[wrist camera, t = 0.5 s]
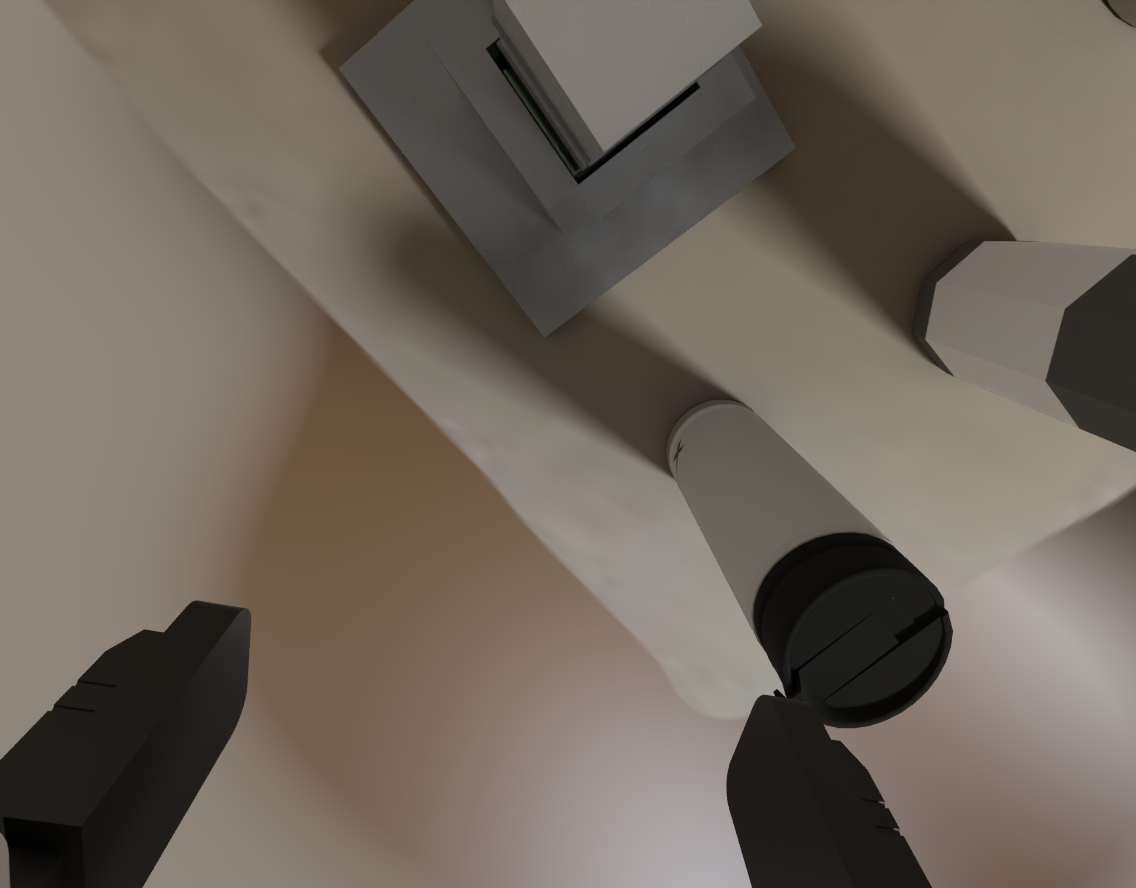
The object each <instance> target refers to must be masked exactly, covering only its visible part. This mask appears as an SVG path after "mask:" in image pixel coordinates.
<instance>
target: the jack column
mask: <svg viewBox="0 0 1136 888" xmlns="http://www.w3.org/2000/svg"><path fill="white" fill-rule="evenodd" d="M492 1H493V6H494V11H495V14H494V15H493V16H492V17H491V21H492V23H493V25H494V26H495V28H496V29H497V31H498V32H499V36H500V40H499V41H498V42H497V47H498V48H499V50H500V51H501V53H502V54H503V56H504V62H505V67H506V69H505V70H504V71H503V74H504V77H505V78H506V80H507V81H508V83H509V84H510V86H511V87H512V89H513V90H514V91H515V93H516V94H517V96H518V97H519V99H520V100H521V102H522V103H523V105H524V106H525V108H526V109H527V111H528V112H529V114H530V115H531V116H532V118H533V119H534V121H535V122H536V124H537V125H538V127H539V128H540V130H541V131H542V133H543V134H544V136H545V137H546V138H547V140H548V141H549V143H550V144H551V146H552V147H553V149H554V150H555V152H556V153H557V155H558V156H559V158H560V159H561V160H562V162H563V163H564V165H565V166H566V168H567V169H568V171H569V172H570V174H571V175H572V177H573V176H575V175H576V174H577V173H578V172H580V171H583V170H584V169H585V168H587V167H590V166H591V165H592V164H594V163H595V162H596V161H597V160H599V159H600V158H601V157H602V156H604V155H605V154H606V153H607V152H609V151H610V150H611V149H612V148H614V147H615V146H616V145H617V144H619V143H620V142H621V141H622V140H624V139H625V138H626V137H627V136H629V135H630V134H631V133H632V132H634V131H635V130H636V129H637V128H639V127H640V126H641V125H642V124H644V123H645V122H646V121H647V120H649V119H650V118H651V117H652V116H654V115H655V114H656V113H657V112H659V111H660V110H661V109H663V108H664V107H665V106H666V105H668V104H669V103H670V102H671V101H673V100H674V99H675V98H676V97H678V96H679V95H680V94H681V93H683V92H684V91H685V90H686V89H688V88H689V87H690V86H691V85H693V84H694V83H695V82H696V81H698V80H699V79H700V78H701V77H703V76H704V75H705V74H706V73H708V72H709V71H710V70H711V69H713V68H714V67H715V66H716V65H718V64H719V63H720V62H721V61H723V60H722V57H724V56H725V55H726V54H727V53H729V52H730V51H731V50H732V49H734V48H735V47H736V46H737V45H739V44H740V43H741V42H742V41H744V40H745V39H746V38H748V37H749V36H750V35H751V34H753V33H754V32H755V31H756V30H758V29H759V28H760V27H761V26H762V24H761V22H760V20H759V19H758V17H757V15H756V13H755V11H754V9H753V7H752V5H751V4H750V2H749V0H492Z"/></svg>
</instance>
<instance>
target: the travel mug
mask: <svg viewBox="0 0 1136 888" xmlns="http://www.w3.org/2000/svg"><path fill="white" fill-rule="evenodd" d="M666 457H667V462H668V466H669V468H670V470H671V472H672V475H673V476H674V478H675V480H676V482H677V484H678V486H679V488H680V490H681V492H682V494H683V496H684V498H685V500H686V502H687V504H688V506H689V508H690V510H691V512H692V514H693V515H694V517H695V519H696V521H697V523H698V525H699V527H700V529H701V531H702V533H703V535H704V537H705V539H706V541H707V543H708V545H709V547H710V549H711V551H712V552H713V554H714V556H715V558H716V560H717V562H718V564H719V566H720V568H721V570H722V572H723V574H724V576H725V578H726V580H727V582H728V584H729V586H730V588H731V589H732V591H733V593H734V595H735V597H736V599H737V601H738V603H739V605H740V607H741V609H742V611H743V613H744V615H745V617H746V619H747V621H748V623H749V625H750V626H751V628H752V630H753V632H754V634H755V636H756V638H757V640H758V642H759V643H760V645H761V646H762V647H763V649H764V650H765V652H766V653H767V656H768V658H769V660H770V662H771V664H772V666H773V667H774V669H775V670H776V672H777V674H778V675H779V678H780V680H781V682H782V684H783V688H784V691H785V695H786V697H785V696H784V695H783V694H782V693H781V692H780V691H779V690H778V689H776V690H775V691H774V695H775V697H782V698H788V699H794V700H800V701H806V702H809V703H810V704H812V705H813V707H814V708H815V710H816V711H817V713H818V715H819V717H820V719H821V721H822V723H823V724H825V725H827V726H832V727H836V728H859V727H865V726H871V725H873V724H877V723H880V722H883V721H885V720H888V719H890V718H892V717H894V716H896V715H898V714H900V713H901V712H903V711H904V710H906V709H907V708H908V707H910V706H911V705H913V704H914V703H915V702H916V701H917V700H918V699H919V698H920V697H921V696H922V695H924V693H926V692H927V691H928V689H929V688H930V687H931V685H932V684H933V683H934V681H935V680H936V679H937V678H938V676H939V674H940V672H941V670H942V668H943V666H944V664H945V663H946V660H947V657H948V654H949V651H950V648H951V642H952V634H953V629H952V625H951V621H950V618H949V613H948V611H947V610H946V609H945V608H944V599H943V597H942V595H941V594H940V592H939V591H938V589H937V587H936V586H935V585H934V584H933V583H932V582H931V581H930V580H929V579H928V578H927V577H925V576H924V575H923V574H922V573H921V572H920V571H919V570H918V569H917V568H916V567H915V566H914V565H913V564H912V563H911V562H910V561H909V560H908V559H907V558H906V556H905V554H904V553H903V552H902V551H901V550H900V549H898V548H897V547H896V546H895V545H894V544H893V543H892V542H891V541H890V540H889V539H888V538H887V537H886V536H885V535H884V534H883V533H882V532H881V531H880V530H879V529H877V528H876V527H875V526H874V525H873V524H872V523H871V522H870V521H869V520H868V519H867V518H866V517H865V516H864V515H863V514H862V513H861V512H860V511H858V510H857V509H856V508H855V507H854V506H853V505H852V504H851V503H850V502H849V501H848V500H847V499H846V498H845V497H844V496H843V495H842V494H841V493H839V492H838V491H837V490H836V489H835V488H834V487H833V486H832V485H831V484H830V483H829V482H828V481H827V480H826V479H825V478H824V477H823V476H822V475H820V474H819V473H818V472H817V471H816V470H815V469H814V468H813V467H812V466H811V465H810V464H809V463H808V462H807V461H806V460H805V459H804V458H803V457H801V456H800V455H799V454H798V453H797V452H796V451H795V450H794V449H793V448H792V447H791V446H790V445H789V444H788V443H787V442H786V441H785V440H784V439H783V438H781V437H780V436H779V435H778V434H777V433H776V432H775V431H774V430H773V429H772V428H771V427H770V426H769V425H768V424H767V423H766V422H765V421H764V420H762V419H761V418H760V417H759V416H758V415H757V414H756V413H755V412H754V411H753V410H752V409H751V408H749V407H747V406H746V405H744V404H742V403H739V402H736V401H733V400H725V399H721V400H711V401H707V402H704V403H701V404H699V405H697V406H695V407H693V408H692V409H690V410H689V411H687V412H686V413H685V414H684V415H683V416H682V417H681V418H680V419H679V420H678V421H677V423H676V424H675V425H674V427H673V428H672V431H671V433H670V435H669V438H668V442H667V447H666Z"/></svg>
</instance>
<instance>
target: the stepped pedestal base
mask: <svg viewBox="0 0 1136 888" xmlns="http://www.w3.org/2000/svg"><path fill="white" fill-rule="evenodd" d="M494 14H495V11H494V6H493V1H492V0H414V1H412V2H411V3H410V4H409V5H408V6H407V7H406V8H405V9H404V10H402V11H401V12H400V13H399V14H398V15H397V16H396V17H395V18H394V19H393V20H391V21H390V22H389V23H388V24H387V25H386V26H385V27H384V28H383V29H381V30H380V31H379V32H378V33H377V34H376V35H375V36H374V37H373V38H371V39H370V40H369V41H368V42H367V43H366V44H365V45H364V46H363V47H362V48H360V49H359V50H358V51H357V52H356V53H355V54H354V55H353V56H352V57H350V58H349V59H348V60H347V61H346V62H345V63H344V64H343V65H342V66H340V67H339V68H338V69H339V70H340V72H341V73H342V74H343V76H344V77H345V78H346V80H347V81H348V82H349V83H350V85H351V86H352V87H353V89H354V90H355V91H356V93H357V94H358V95H359V97H360V98H361V99H362V100H363V102H364V103H365V104H366V106H367V107H368V108H369V110H370V111H371V112H372V114H373V115H374V116H375V117H376V119H377V120H378V121H379V123H380V124H381V125H382V127H383V128H384V129H385V131H386V132H387V133H388V134H389V136H390V137H391V138H392V140H393V141H394V142H395V144H396V145H397V146H398V148H399V149H400V150H401V151H402V153H403V154H404V155H405V157H406V158H407V159H408V161H409V162H410V163H411V165H412V166H413V167H414V168H415V170H416V171H417V172H418V174H419V175H420V176H421V178H422V179H423V180H424V182H425V183H426V184H427V185H428V187H429V188H430V189H431V191H432V192H433V193H434V195H435V196H436V197H437V199H438V200H439V201H440V202H441V204H442V205H443V206H444V208H445V209H446V210H447V212H448V213H449V214H450V216H451V217H452V218H453V219H454V221H455V222H456V223H457V225H458V226H459V227H460V229H461V230H462V231H463V233H464V234H465V235H466V236H467V238H468V239H469V240H470V242H471V243H472V244H473V246H474V247H475V248H476V250H477V251H478V252H479V253H480V255H481V256H482V257H483V259H484V260H485V261H486V263H487V264H488V265H489V267H490V268H491V269H492V270H493V272H494V273H495V274H496V276H497V277H498V278H499V280H500V281H501V282H502V284H503V285H504V286H505V287H506V289H507V290H508V291H509V293H510V294H511V295H512V297H513V298H514V299H515V301H516V302H517V303H518V304H519V306H520V307H521V308H522V310H523V311H524V312H525V314H526V315H527V316H528V318H529V319H530V320H531V321H532V323H533V324H534V325H535V327H536V328H537V329H538V331H539V332H540V333H541V335H542V336H543V337H544V338H545V337H546V336H548V335H549V334H550V333H552V332H553V331H554V330H556V329H557V328H558V327H560V326H561V325H562V324H564V323H565V322H566V321H568V320H569V319H570V318H572V317H573V316H574V315H576V314H577V313H578V312H580V311H581V310H582V309H584V308H585V307H586V306H588V305H589V304H590V303H592V302H593V301H594V300H596V299H597V298H598V297H599V296H601V295H602V294H603V293H605V292H606V291H607V290H609V289H610V288H611V287H613V286H614V285H615V284H617V283H618V282H619V281H621V280H622V279H623V278H625V277H626V276H627V275H629V274H630V273H631V272H633V271H634V270H635V269H637V268H638V267H639V266H641V265H642V264H643V263H645V262H646V261H647V260H649V259H650V258H651V257H653V256H654V255H655V254H657V253H658V252H659V251H661V250H662V249H663V248H665V247H666V246H667V245H669V244H670V243H671V242H673V241H674V240H675V239H676V238H678V237H679V236H680V235H682V234H683V233H684V232H686V231H687V230H688V229H690V228H691V227H692V226H694V225H695V224H696V223H698V222H699V221H700V220H702V219H703V218H704V217H706V216H707V215H708V214H710V213H711V212H712V211H714V210H715V209H716V208H718V207H719V206H720V205H722V204H723V203H724V202H726V201H727V200H728V199H730V198H731V197H732V196H734V195H735V194H736V193H738V192H739V191H740V190H742V189H743V188H744V187H746V186H747V185H748V184H750V183H751V182H752V181H753V180H755V179H756V178H757V177H759V176H760V175H761V174H763V173H764V172H765V171H767V170H768V169H769V168H771V167H772V166H773V165H775V164H776V163H777V162H779V161H780V160H781V159H783V158H784V157H785V156H787V155H788V154H789V153H791V152H792V151H793V150H795V149H796V146H795V144H794V143H793V141H792V139H791V137H790V135H789V134H788V132H787V130H786V128H785V126H784V124H783V123H782V121H781V119H780V117H779V115H778V114H777V112H776V110H775V108H774V106H773V104H772V103H771V101H770V99H769V97H768V95H767V94H766V92H765V90H764V88H763V86H762V84H761V83H760V81H759V79H758V77H757V75H756V73H755V72H754V70H753V68H752V66H751V64H750V63H749V61H748V59H747V57H746V55H745V53H744V52H743V50H742V48H741V46H740V44H739V45H737V46H736V47H735V48H734V49H732V50H731V51H730V52H729V53H727V54H726V55H725V56H724V57H722V60H723V61H721V62H720V63H719V64H718V65H716V66H715V67H714V68H713V69H711V70H710V71H709V72H708V73H706V74H705V75H704V76H703V77H701V78H700V79H699V80H698V81H696V82H695V83H694V84H693V85H691V86H690V87H689V88H688V89H686V90H685V91H684V92H683V93H681V94H680V95H679V96H678V97H676V98H675V99H674V100H673V101H671V102H670V103H669V104H668V105H666V106H665V107H664V108H663V109H661V110H660V111H659V112H657V113H656V114H655V115H654V116H652V117H651V118H650V119H649V120H647V121H646V122H645V123H644V124H642V125H641V126H640V127H639V128H637V129H636V130H635V131H634V132H632V133H631V134H630V135H629V136H627V137H626V138H625V139H624V140H622V141H621V142H620V143H619V144H617V145H616V146H615V147H614V148H612V149H611V150H610V151H609V152H607V153H606V154H605V155H604V156H602V157H601V158H600V159H599V160H597V161H596V162H595V163H594V164H592V165H591V166H590V167H587V168H585V169H584V170H583V171H580V172H578V173H577V174H576V175H575V176H573V177H572V175H571V174H570V172H569V171H568V169H567V168H566V166H565V165H564V163H563V162H562V160H561V159H560V158H559V156H558V155H557V153H556V152H555V150H554V149H553V147H552V146H551V144H550V143H549V141H548V140H547V138H546V137H545V136H544V134H543V133H542V131H541V130H540V128H539V127H538V125H537V124H536V122H535V121H534V119H533V118H532V116H531V115H530V114H529V112H528V111H527V109H526V108H525V106H524V105H523V103H522V102H521V100H520V99H519V97H518V96H517V94H516V93H515V91H514V90H513V89H512V87H511V86H510V84H509V83H508V81H507V80H506V78H505V77H504V74H503V71H504V70H505V69H506V67H505V62H504V56H503V54H502V53H501V51H500V50H499V48H498V47H497V42H498V41H499V40H500V36H499V32H498V31H497V29H496V28H495V26H494V25H493V23H492V21H491V17H492V16H493V15H494Z"/></svg>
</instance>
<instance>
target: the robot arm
mask: <svg viewBox="0 0 1136 888" xmlns="http://www.w3.org/2000/svg"><path fill="white" fill-rule="evenodd" d="M1107 1H1108V3H1109V5H1110V6H1111V7H1112V9H1113V10H1114V11H1115V12H1116V13H1117V14H1118V15H1119V16H1120V18H1121V19H1123V20H1124V21H1126V22H1128V23H1129V24H1131V25H1132V26H1134V27H1136V0H1107ZM250 631H251V614H250V611H249V610H248V609H246V608H241V607H235V606H228V605H222V604H216V603H210V602H203V601H193V602H191V603H190V604H189V605H188V606H187V607H186V608H185V609H184V610H183V612H182V613H181V614H180V615H179V616H178V617H177V618H176V619H175V621H174V622H173V623H172V624H171V625H170V626H169V628H168V629H167V630H166V631H165V632H164V633H163V632H157V631H151V630H143V631H141V632H139V633H137V634H135V635H134V636H132V637H130V638H128V639H126V640H125V641H123V642H121V643H119V644H118V645H116V646H114V647H112V648H110V649H109V650H107V651H105V652H104V653H103V654H102V656H101V657H100V658H99V659H98V660H97V661H96V662H95V663H94V664H93V665H92V666H91V667H90V668H89V669H88V670H87V671H86V672H85V673H84V674H83V675H82V676H81V677H80V678H79V679H78V682H77V684H76V686H72V687H71V688H70V689H69V690H68V691H67V692H66V693H65V694H64V695H63V696H62V697H61V698H60V699H59V700H58V701H57V702H56V703H55V704H54V707H53V710H52V711H47V712H46V714H44V716H43V717H42V718H41V719H40V720H39V721H38V722H37V723H36V724H35V725H34V726H33V727H32V728H31V729H30V730H29V731H28V732H27V733H26V734H25V735H24V736H23V737H22V738H21V739H20V740H19V741H18V743H16V744H15V746H14V747H13V748H12V749H11V750H10V751H9V752H8V753H7V754H6V755H5V756H4V757H3V758H2V759H1V760H0V888H142V887H143V886H144V884H145V882H146V881H147V879H148V877H149V875H150V874H151V872H152V870H153V869H154V867H155V865H156V863H157V862H158V860H159V858H160V857H161V855H162V853H163V851H164V850H165V848H166V846H167V845H168V843H169V841H170V840H171V838H172V836H173V834H174V833H175V831H176V829H177V828H178V826H179V824H180V822H181V821H182V819H183V817H184V816H185V814H186V812H187V811H188V809H189V807H190V805H191V804H192V802H193V800H194V799H195V797H196V795H197V793H198V792H199V790H200V788H201V786H202V785H203V783H204V781H205V780H206V778H207V776H208V775H209V773H210V771H211V769H212V768H213V766H214V764H215V763H216V761H217V759H218V758H219V756H220V754H221V752H222V751H223V749H224V747H225V746H226V744H227V742H228V741H229V739H230V737H231V735H232V733H233V732H234V730H235V727H236V725H237V723H238V721H239V718H240V715H241V712H242V709H243V706H244V702H245V698H246V693H247V683H248V664H249V648H250ZM726 787H727V801H728V806H729V809H730V813H731V817H732V820H733V824H734V827H735V830H736V834H737V837H738V841H739V844H740V847H741V851H742V854H743V858H744V861H745V865H746V868H747V872H748V875H749V878H750V882H751V885H752V888H932V887H931V885H930V883H929V881H928V880H927V878H926V876H925V874H924V872H923V870H922V869H921V867H920V865H919V863H918V861H917V860H916V858H915V856H914V854H913V852H912V850H911V849H910V847H909V845H908V843H907V841H906V839H905V838H904V836H900V833H899V830H900V829H899V827H898V825H897V823H896V821H895V819H894V818H893V816H892V814H891V812H890V810H889V809H888V808H885V805H884V804H885V801H884V799H883V798H882V796H881V794H880V793H879V790H878V789H877V787H876V785H875V783H874V781H873V780H872V777H871V776H870V774H869V772H868V770H867V769H866V768H865V767H864V766H863V765H862V764H861V763H860V762H859V761H858V759H857V758H856V757H855V756H854V755H853V754H852V753H851V752H850V751H849V750H848V749H847V748H846V747H845V746H844V744H843V743H842V742H841V741H836V740H831V739H830V737H829V735H828V733H827V731H826V729H825V727H824V725H823V723H822V721H821V719H820V717H819V715H818V713H817V711H816V710H815V708H814V707H813V705H812V704H810V703H809V702H806V701H800V700H794V699H788V698H782V697H775V696H769V695H761V696H760V697H759V698H758V699H757V700H756V701H755V703H754V706H753V708H752V710H751V713H750V715H749V718H748V720H747V723H746V725H745V727H744V730H743V732H742V735H741V737H740V740H739V742H738V744H737V747H736V749H735V752H734V754H733V757H732V759H731V762H730V764H729V769H728V773H727V786H726Z"/></svg>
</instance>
